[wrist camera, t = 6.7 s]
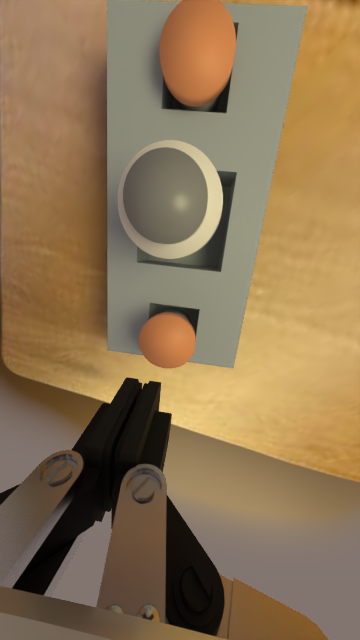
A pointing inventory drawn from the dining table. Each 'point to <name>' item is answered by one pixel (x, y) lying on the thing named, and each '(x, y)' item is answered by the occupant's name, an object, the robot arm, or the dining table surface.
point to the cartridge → (170, 199)
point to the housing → (222, 150)
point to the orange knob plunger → (168, 339)
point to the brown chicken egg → (198, 53)
